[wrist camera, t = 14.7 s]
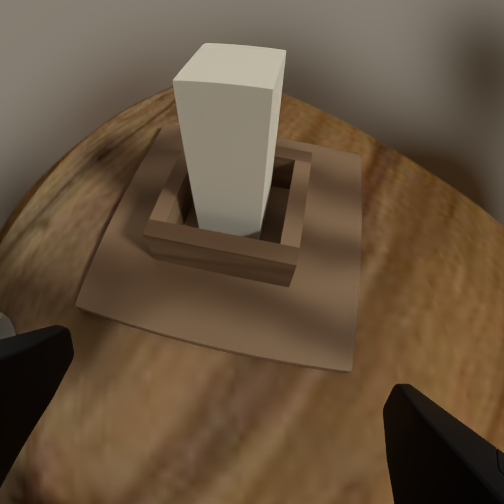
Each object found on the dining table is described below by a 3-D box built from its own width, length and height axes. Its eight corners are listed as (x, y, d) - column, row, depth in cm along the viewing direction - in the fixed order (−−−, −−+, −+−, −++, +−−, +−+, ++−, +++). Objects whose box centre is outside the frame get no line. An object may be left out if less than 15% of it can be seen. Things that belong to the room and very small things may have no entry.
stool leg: (258, 246, 23) (272, 89, 11) (200, 234, 23) (172, 80, 12) (269, 199, 25) (286, 50, 14) (216, 190, 25) (204, 43, 14)
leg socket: (346, 373, 19) (371, 363, 16) (80, 309, 21) (51, 287, 17) (357, 162, 29) (371, 128, 25) (166, 131, 30) (159, 97, 26)
